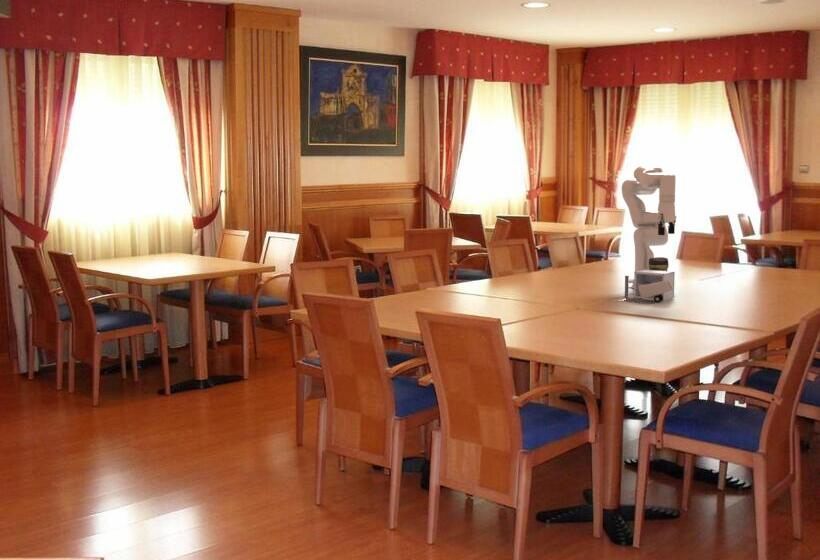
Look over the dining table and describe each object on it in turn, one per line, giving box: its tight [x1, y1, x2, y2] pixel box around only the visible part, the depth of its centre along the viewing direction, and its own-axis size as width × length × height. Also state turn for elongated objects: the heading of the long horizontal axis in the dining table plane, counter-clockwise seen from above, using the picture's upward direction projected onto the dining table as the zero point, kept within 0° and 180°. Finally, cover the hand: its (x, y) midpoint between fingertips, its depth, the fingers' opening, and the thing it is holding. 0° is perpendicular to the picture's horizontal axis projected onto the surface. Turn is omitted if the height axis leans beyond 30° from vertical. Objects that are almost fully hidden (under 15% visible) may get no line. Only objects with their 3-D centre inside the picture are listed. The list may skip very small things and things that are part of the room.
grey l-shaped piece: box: [624, 275, 662, 305], centre depth 468 cm, size 18×11×11 cm, turn 47°
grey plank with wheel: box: [638, 281, 673, 303], centre depth 464 cm, size 4×10×15 cm
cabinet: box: [633, 270, 675, 302], centre depth 477 cm, size 16×10×13 cm, turn 47°
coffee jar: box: [648, 256, 670, 271], centre depth 489 cm, size 10×8×19 cm
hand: (666, 234), depth 482 cm, fingers open, 9 cm apart
